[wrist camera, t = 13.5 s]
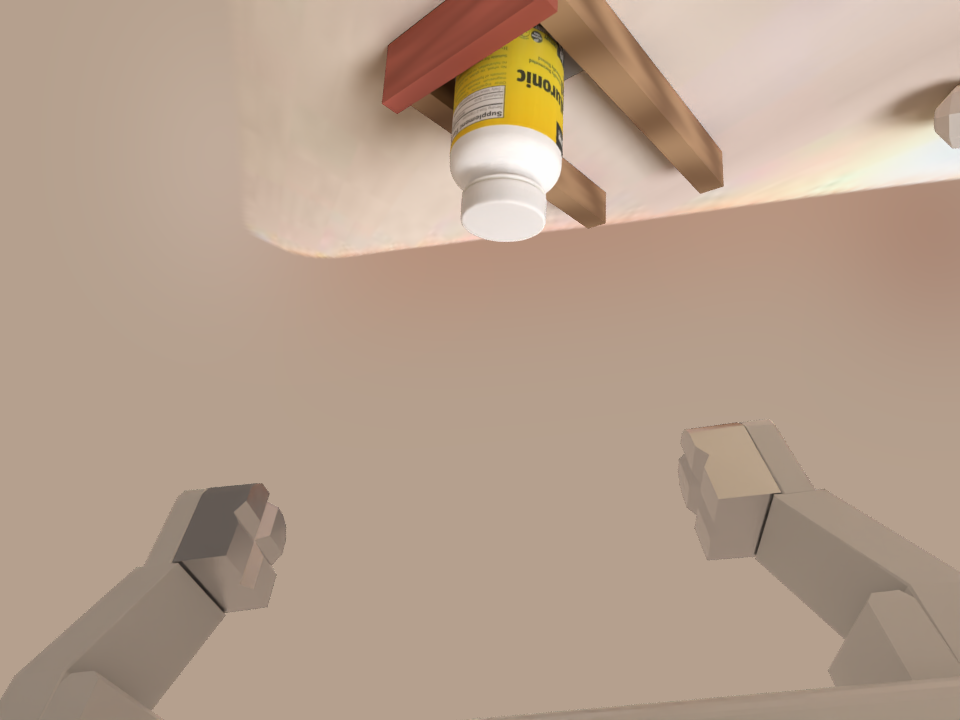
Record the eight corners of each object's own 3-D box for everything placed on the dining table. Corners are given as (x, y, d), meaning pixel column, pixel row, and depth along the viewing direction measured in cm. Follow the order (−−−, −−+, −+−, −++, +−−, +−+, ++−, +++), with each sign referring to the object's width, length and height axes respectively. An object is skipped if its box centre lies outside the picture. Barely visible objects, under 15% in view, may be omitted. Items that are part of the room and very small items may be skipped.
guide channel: (388, 45, 29) (381, 103, 28) (545, -78, 22) (542, -5, 21) (588, 198, 43) (588, 240, 42) (721, 151, 36) (724, 200, 35)
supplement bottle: (581, 63, 29) (578, 236, 27) (492, 97, 32) (483, 256, 30) (535, -17, 25) (527, 182, 22) (436, 30, 27) (420, 211, 25)
